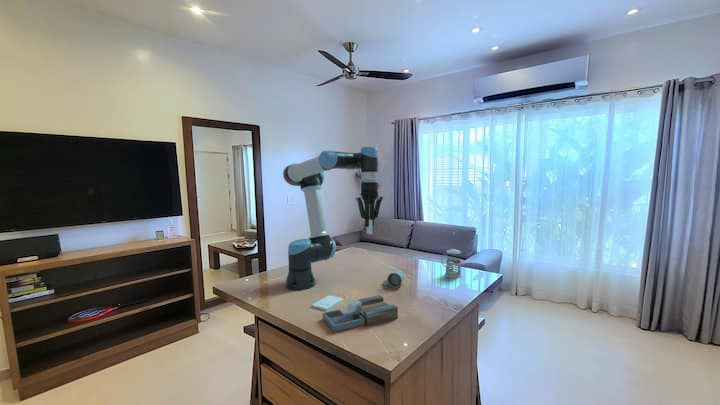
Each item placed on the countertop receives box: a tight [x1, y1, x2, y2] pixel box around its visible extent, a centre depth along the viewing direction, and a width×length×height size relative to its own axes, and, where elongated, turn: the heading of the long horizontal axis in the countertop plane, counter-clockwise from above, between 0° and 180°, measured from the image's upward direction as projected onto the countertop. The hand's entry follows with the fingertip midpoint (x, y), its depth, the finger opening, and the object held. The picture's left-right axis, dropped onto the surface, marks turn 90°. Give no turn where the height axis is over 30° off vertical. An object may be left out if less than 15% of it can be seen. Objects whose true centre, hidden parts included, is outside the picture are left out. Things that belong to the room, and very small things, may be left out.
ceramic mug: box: [382, 269, 405, 289], centre depth 153 cm, size 11×8×8 cm
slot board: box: [358, 294, 399, 327], centre depth 119 cm, size 14×14×4 cm
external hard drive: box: [310, 294, 344, 312], centre depth 130 cm, size 2×8×12 cm
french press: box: [440, 231, 463, 279], centre depth 167 cm, size 10×12×25 cm
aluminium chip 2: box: [347, 299, 362, 315], centre depth 115 cm, size 4×4×4 cm
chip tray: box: [322, 308, 366, 333], centre depth 113 cm, size 12×12×2 cm
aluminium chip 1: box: [339, 307, 353, 323], centre depth 113 cm, size 4×4×4 cm
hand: (369, 233), depth 134 cm, fingers closed
